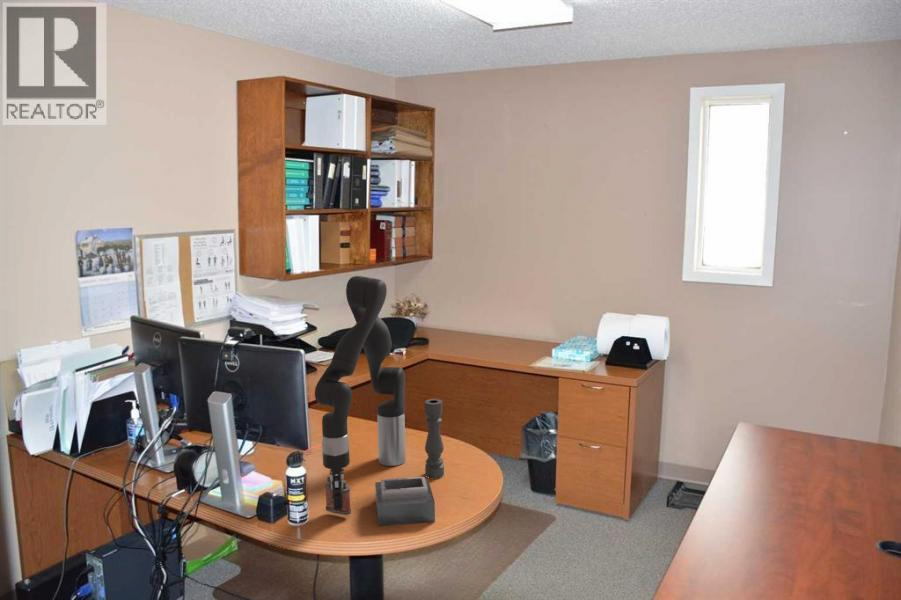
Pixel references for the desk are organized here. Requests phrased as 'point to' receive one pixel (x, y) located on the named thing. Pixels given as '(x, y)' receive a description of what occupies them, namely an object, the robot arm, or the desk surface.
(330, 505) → the lighter
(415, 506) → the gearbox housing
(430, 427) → the candle holder
